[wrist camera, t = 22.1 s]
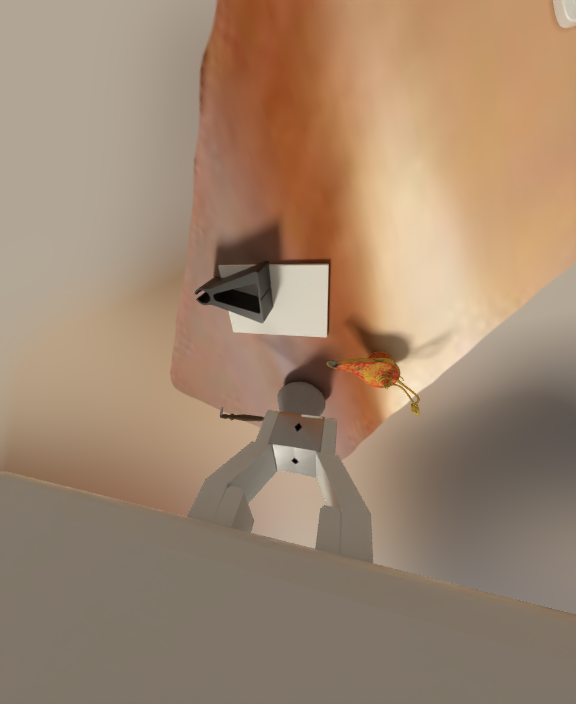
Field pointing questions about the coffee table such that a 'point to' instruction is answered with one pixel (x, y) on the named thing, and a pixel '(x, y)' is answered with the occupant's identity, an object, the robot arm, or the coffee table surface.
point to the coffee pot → (292, 402)
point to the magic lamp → (376, 372)
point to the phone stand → (241, 293)
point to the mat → (288, 300)
